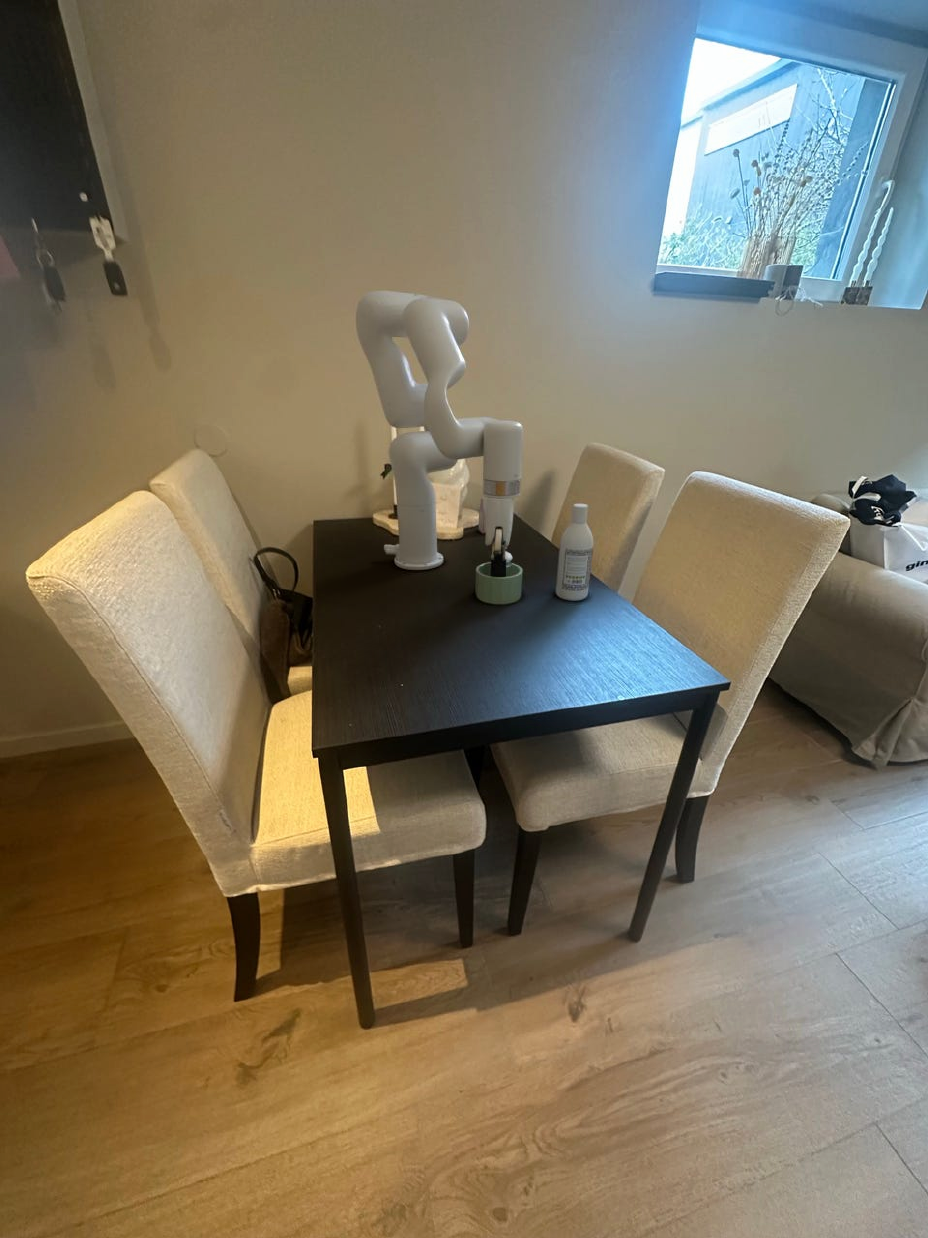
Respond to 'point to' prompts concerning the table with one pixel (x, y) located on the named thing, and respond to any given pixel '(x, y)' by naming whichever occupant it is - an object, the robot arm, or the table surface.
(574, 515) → the bath foam
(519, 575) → the cup
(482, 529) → the white and pink carton
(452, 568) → the table surface
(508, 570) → the milkshake
